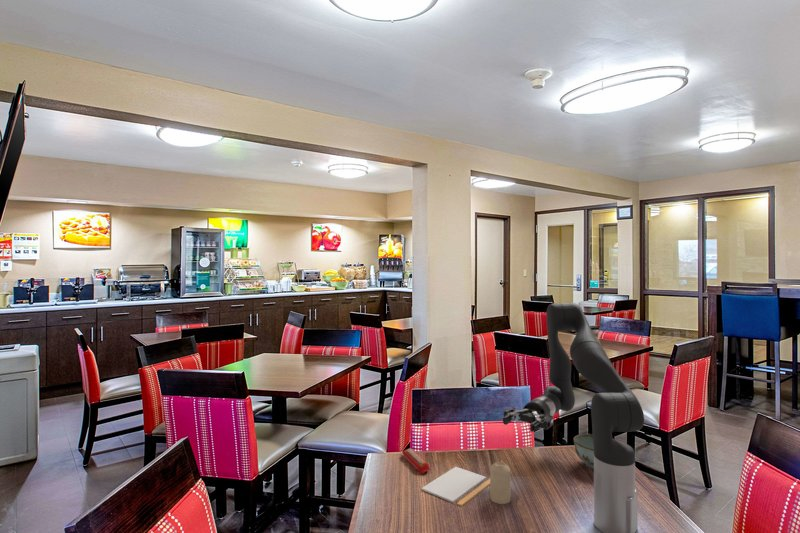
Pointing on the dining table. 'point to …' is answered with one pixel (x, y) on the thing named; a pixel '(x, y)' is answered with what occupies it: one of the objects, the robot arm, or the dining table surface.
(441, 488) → the mat
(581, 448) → the bowl
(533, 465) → the dining table surface
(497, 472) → the candle
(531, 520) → the dining table surface
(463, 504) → the wooden stick
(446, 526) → the dining table surface
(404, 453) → the candy bar
